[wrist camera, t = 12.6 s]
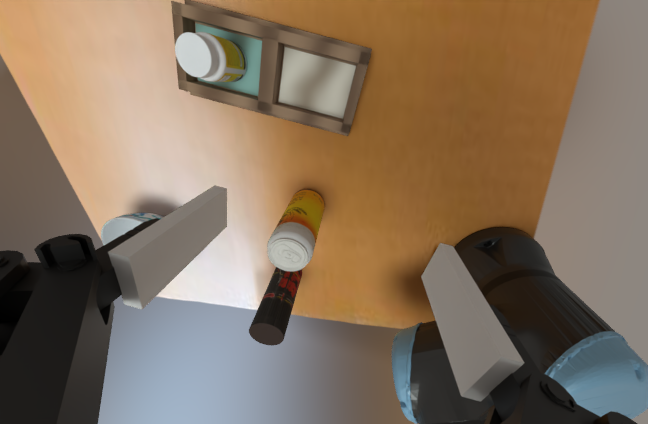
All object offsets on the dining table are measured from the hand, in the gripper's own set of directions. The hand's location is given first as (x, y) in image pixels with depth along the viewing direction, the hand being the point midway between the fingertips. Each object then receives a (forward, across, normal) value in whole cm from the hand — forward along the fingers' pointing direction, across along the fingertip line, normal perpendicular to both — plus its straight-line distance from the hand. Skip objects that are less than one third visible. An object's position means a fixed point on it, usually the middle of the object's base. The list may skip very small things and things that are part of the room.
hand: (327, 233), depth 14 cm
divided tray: (+25, +12, -8) cm, 29 cm away
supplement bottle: (+24, +18, -8) cm, 31 cm away
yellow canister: (+26, +4, +11) cm, 29 cm away
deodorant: (+26, +6, +29) cm, 40 cm away
